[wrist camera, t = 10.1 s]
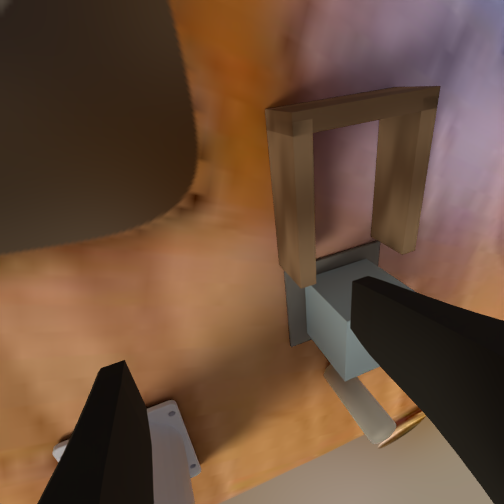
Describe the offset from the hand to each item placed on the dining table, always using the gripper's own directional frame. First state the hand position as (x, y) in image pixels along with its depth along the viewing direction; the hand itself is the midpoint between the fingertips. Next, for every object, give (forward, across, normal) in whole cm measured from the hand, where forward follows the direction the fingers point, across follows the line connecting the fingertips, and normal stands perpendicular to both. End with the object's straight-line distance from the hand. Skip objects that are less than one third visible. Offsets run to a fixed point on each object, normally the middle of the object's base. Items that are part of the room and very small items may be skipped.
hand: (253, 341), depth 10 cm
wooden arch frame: (+9, -9, 0) cm, 13 cm away
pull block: (+9, -9, +11) cm, 17 cm away
